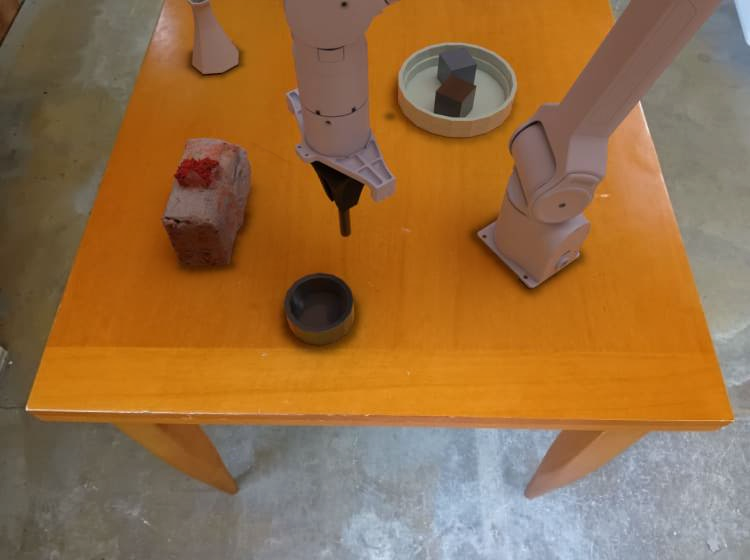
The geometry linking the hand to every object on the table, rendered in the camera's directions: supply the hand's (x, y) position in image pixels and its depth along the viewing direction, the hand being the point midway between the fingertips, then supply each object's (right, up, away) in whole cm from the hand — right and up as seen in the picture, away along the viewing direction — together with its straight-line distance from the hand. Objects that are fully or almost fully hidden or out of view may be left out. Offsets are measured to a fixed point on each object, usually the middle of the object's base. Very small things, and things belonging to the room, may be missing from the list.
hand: (343, 200), depth 58 cm
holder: (-3, -12, +5) cm, 13 cm away
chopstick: (0, -3, +5) cm, 5 cm away
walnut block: (+14, +15, +21) cm, 30 cm away
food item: (-16, -1, +12) cm, 20 cm away
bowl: (+15, +18, +23) cm, 33 cm away
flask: (-21, +25, +28) cm, 43 cm away
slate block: (+15, +21, +24) cm, 35 cm away
